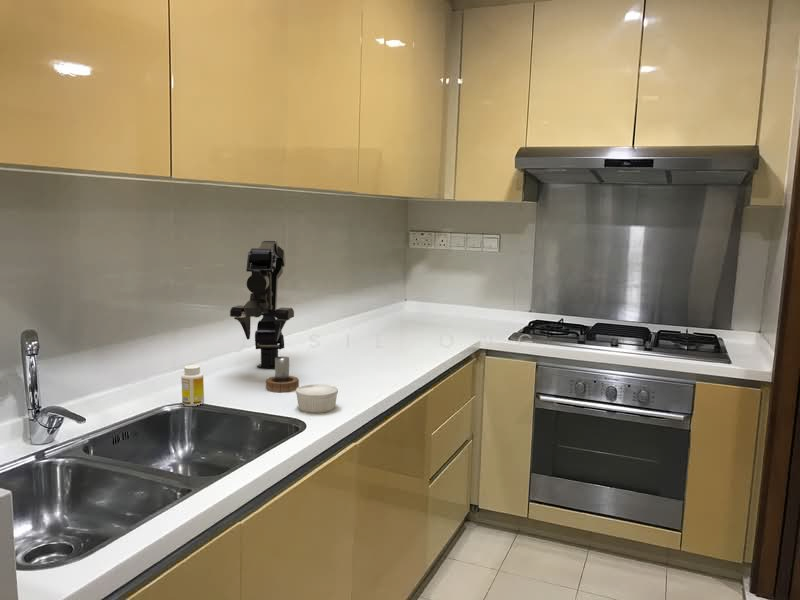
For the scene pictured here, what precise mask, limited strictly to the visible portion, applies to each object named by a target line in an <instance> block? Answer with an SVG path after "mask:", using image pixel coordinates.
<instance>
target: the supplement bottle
mask: <svg viewBox="0 0 800 600" xmlns="http://www.w3.org/2000/svg"><path fill="white" fill-rule="evenodd" d="M183 372H184V373H182V375H181V403H182V404H184V405H183V406H185V407H198V406H201V405H203V404H204V402H205V394H204V393H205V391H204V373H203V372H201V367H200V365H199V364H190V365H185V366H184V370H183ZM200 404H201V405H200ZM197 405H198V406H197Z"/></svg>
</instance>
